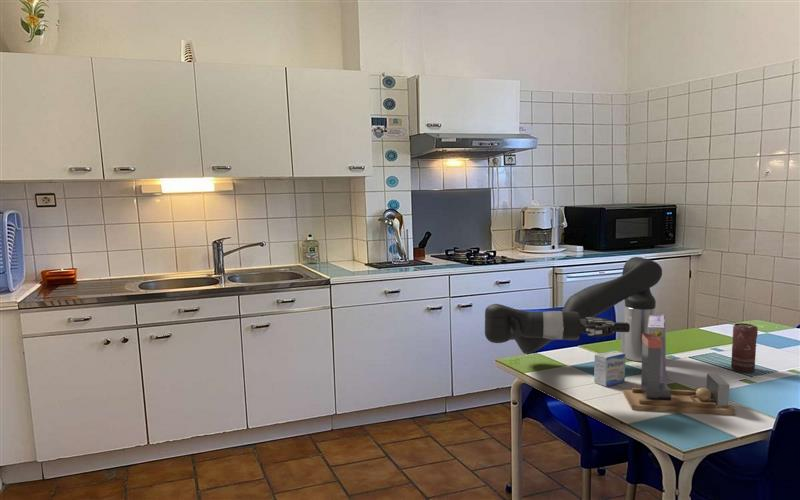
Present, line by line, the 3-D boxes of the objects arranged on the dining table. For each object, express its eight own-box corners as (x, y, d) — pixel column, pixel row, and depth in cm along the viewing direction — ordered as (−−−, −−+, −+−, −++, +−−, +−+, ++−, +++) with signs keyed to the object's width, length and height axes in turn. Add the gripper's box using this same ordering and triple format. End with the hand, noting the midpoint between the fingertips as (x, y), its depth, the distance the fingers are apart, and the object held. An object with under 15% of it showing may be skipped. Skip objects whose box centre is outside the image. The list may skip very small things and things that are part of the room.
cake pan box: (647, 367, 173) (649, 311, 171) (665, 369, 171) (667, 313, 169) (645, 387, 156) (647, 326, 154) (665, 390, 154) (667, 328, 152)
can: (759, 373, 165) (761, 328, 164) (735, 372, 167) (738, 327, 165) (750, 367, 171) (753, 323, 170) (728, 366, 173) (730, 322, 171)
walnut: (692, 400, 144) (693, 387, 143) (699, 397, 146) (700, 384, 145) (706, 404, 141) (707, 391, 140) (713, 401, 143) (714, 388, 142)
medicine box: (605, 387, 157) (606, 357, 156) (593, 382, 161) (594, 353, 160) (625, 382, 161) (625, 353, 160) (612, 377, 165) (613, 349, 164)
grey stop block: (717, 407, 139) (718, 384, 138) (706, 395, 147) (707, 373, 146) (728, 407, 138) (729, 384, 138) (716, 395, 146) (717, 373, 145)
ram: (646, 400, 143) (648, 340, 141) (640, 391, 149) (642, 333, 147) (671, 401, 142) (673, 340, 140) (664, 392, 148) (666, 334, 146)
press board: (632, 409, 141) (632, 401, 141) (623, 393, 152) (623, 386, 152) (734, 415, 137) (735, 406, 137) (718, 398, 148) (718, 390, 147)
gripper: (557, 332, 154) (623, 334, 151) (562, 346, 141) (634, 348, 138) (558, 306, 153) (624, 307, 150) (562, 317, 141) (635, 319, 137)
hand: (629, 327), depth 144 cm, fingers closed
